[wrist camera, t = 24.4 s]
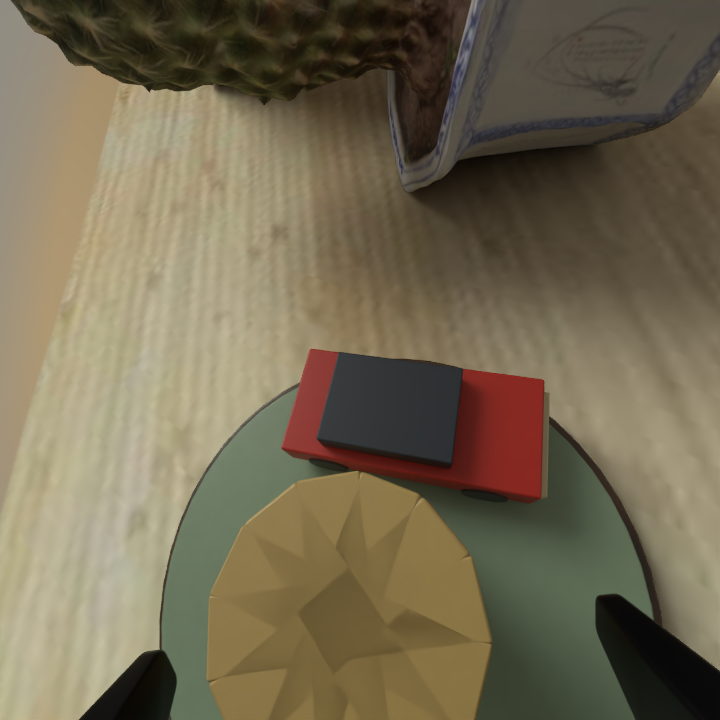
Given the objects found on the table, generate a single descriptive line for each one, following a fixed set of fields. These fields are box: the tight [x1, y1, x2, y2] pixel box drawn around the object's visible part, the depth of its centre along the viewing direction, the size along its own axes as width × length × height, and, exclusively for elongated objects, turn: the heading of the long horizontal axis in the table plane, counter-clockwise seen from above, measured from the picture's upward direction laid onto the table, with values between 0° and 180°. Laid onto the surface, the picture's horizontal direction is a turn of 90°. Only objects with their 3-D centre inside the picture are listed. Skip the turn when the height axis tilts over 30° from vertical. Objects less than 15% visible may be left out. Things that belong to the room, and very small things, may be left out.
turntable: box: [162, 349, 654, 720], centre depth 10 cm, size 17×17×10 cm
